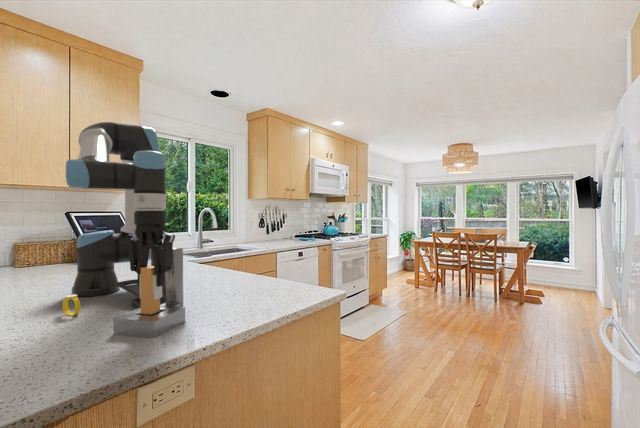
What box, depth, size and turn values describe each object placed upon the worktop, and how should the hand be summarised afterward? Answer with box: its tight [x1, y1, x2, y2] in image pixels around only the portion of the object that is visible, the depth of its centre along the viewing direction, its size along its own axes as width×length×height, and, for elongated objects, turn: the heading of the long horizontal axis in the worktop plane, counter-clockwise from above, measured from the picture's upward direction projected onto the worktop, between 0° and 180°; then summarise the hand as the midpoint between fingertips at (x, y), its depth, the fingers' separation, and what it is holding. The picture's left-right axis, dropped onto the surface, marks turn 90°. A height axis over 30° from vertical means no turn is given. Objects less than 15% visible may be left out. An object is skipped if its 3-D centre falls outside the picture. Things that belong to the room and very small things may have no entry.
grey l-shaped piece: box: [112, 247, 186, 339], centre depth 88 cm, size 18×12×20 cm
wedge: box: [141, 265, 160, 314], centre depth 85 cm, size 3×3×12 cm
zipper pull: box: [116, 278, 166, 310], centre depth 106 cm, size 9×7×25 cm
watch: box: [62, 294, 82, 317], centre depth 96 cm, size 6×3×6 cm, turn 70°
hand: (151, 297), depth 85 cm, fingers closed on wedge, 3 cm apart
